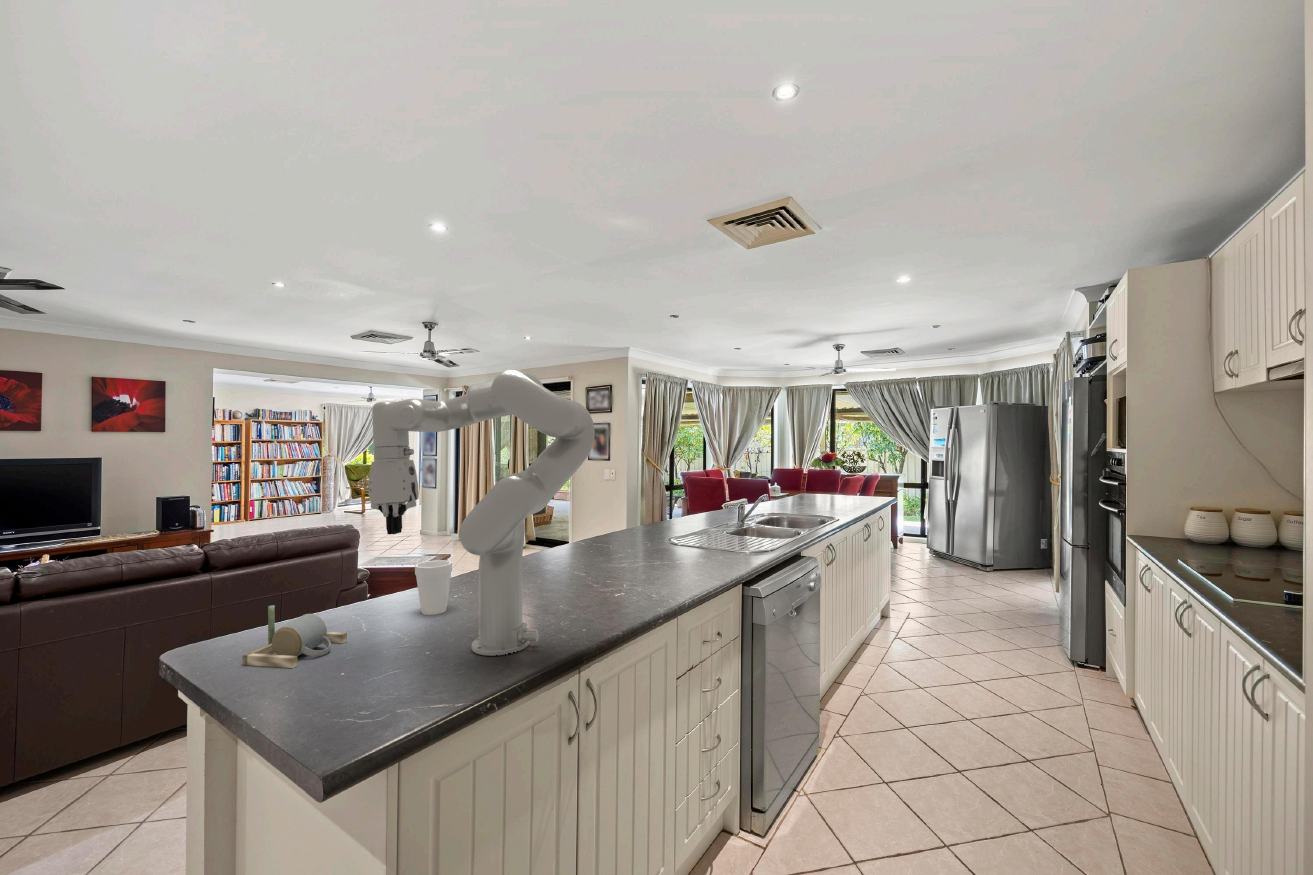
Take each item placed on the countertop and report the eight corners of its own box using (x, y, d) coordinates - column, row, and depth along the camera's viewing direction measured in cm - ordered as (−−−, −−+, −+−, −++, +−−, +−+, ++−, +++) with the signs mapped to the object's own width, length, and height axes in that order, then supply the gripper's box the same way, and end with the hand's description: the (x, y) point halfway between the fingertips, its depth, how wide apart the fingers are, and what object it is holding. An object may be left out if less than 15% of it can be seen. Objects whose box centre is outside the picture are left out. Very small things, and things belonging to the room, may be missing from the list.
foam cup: (408, 615, 148) (407, 567, 148) (427, 605, 157) (427, 559, 157) (440, 617, 146) (440, 568, 146) (458, 607, 155) (458, 560, 155)
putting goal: (346, 641, 129) (346, 598, 129) (292, 668, 113) (292, 619, 114) (297, 638, 131) (296, 596, 131) (237, 664, 116) (237, 616, 116)
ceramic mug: (268, 660, 118) (268, 624, 118) (296, 646, 126) (296, 612, 126) (314, 662, 117) (315, 626, 117) (340, 648, 125) (340, 614, 125)
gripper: (430, 453, 132) (433, 530, 131) (372, 455, 133) (374, 531, 133) (412, 453, 124) (415, 535, 124) (351, 456, 126) (354, 536, 126)
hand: (394, 533), depth 129 cm, fingers closed
